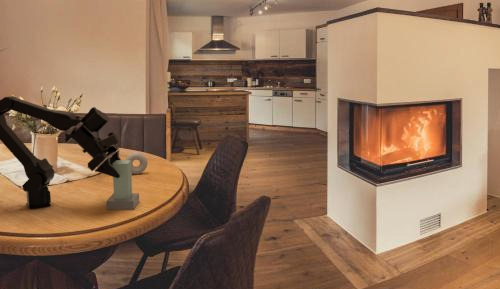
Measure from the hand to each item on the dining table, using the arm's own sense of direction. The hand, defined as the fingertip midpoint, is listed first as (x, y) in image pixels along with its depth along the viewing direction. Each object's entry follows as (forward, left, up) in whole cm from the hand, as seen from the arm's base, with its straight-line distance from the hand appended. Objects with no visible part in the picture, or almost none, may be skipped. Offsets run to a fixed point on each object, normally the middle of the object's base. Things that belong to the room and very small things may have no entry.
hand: (122, 173), depth 140 cm
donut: (+21, +39, -11) cm, 46 cm away
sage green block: (0, 0, -8) cm, 8 cm away
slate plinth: (0, 0, -11) cm, 11 cm away
